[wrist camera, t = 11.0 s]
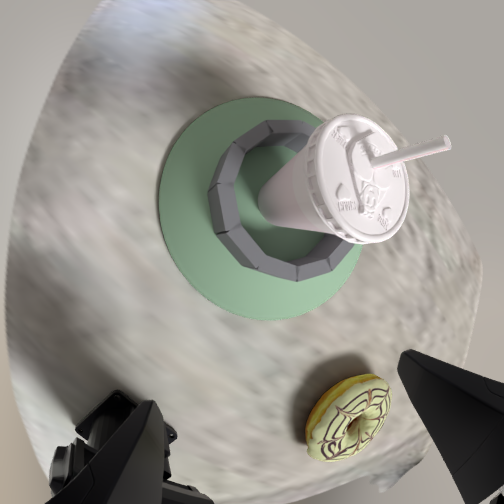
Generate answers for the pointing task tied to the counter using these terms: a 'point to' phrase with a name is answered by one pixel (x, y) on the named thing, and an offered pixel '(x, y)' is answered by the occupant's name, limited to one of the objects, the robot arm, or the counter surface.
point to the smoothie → (345, 182)
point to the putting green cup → (246, 214)
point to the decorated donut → (347, 417)
